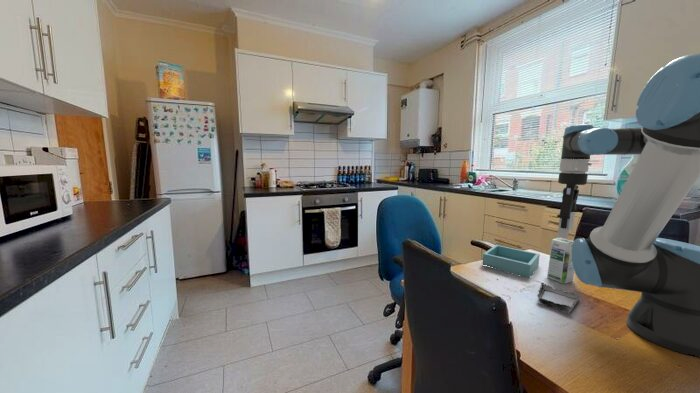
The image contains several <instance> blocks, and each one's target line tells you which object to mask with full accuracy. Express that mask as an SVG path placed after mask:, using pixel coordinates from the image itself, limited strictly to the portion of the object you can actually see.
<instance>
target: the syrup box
mask: <svg viewBox="0 0 700 393" xmlns="http://www.w3.org/2000/svg"><path fill="white" fill-rule="evenodd" d="M573 242H574V240H571V239H567V238H561V237H556V238H552V239H551V243H550V250H549V252H550V253H549V260H548V267H547V268H548V269H547V274H546V275H547V276H546V277H547V279H550V280H553V281H556V282H558V283H561V284H563V285H565V284H569V283H570V282H573V281H574V276H575V271H574V267H573V263H572V245H573Z"/></svg>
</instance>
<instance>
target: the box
mask: <svg viewBox="0 0 700 393" xmlns="http://www.w3.org/2000/svg"><path fill="white" fill-rule="evenodd" d="M540 256H541V255H540V253H537V252H536V253H535V252H532V251H528V250H527V251H526V250H523V249H518V248H512V247H509V246H508V247H507V246H505V245H499V244H495V245H494V246H493V247H491V248H490V249H488V250H487V251H485V252H483V255H482V262H481V263H482V264H483V265H487V266H490V267H493V268H496V269H499V270H498V271H500V270H502V271H501V272H504V271H506V272H505V273H507V272H509V273H508V274H511V273H513V274H512V275H515V274H516V275H515V276H519V275H520V277H522V276H524V277H523V278H526V277H527V278H526V279H530V278H531V277H532V276H533V274H534V273H535V271H536V270H537V269H538V267H539V264H540V263H539V262H540ZM493 268H492V269H493ZM496 269H495V270H496ZM533 272H534V273H533ZM530 276H531V277H530Z"/></svg>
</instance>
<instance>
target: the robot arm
mask: <svg viewBox="0 0 700 393" xmlns="http://www.w3.org/2000/svg"><path fill="white" fill-rule="evenodd" d="M636 107H637V109H636V110H635V117H636V122H637V123H638V124H639V126H641V127H624V128H623V127H622V128H621V127H617V128H608V127H594V125H592V124H575V125H574V124H573V125H568V126H566V127H565V129H564V134H563V136H562V148H561V154H560V155H561V157H560V162H559V169H558V170H559V172H560V173H559V174H558V180H557V182H558V183H559V184H562V185H566V186H565V187H564V188H563V190H562V196H561V198H562V200H561V205H560V211H559V213H558V214H557V215H556V218H558V219H559V220H558V221H559V222H558V228H557V237H556V238H563V239H567V240H569V239H568V238H569V232H570V231H573V230H574V226H575V225H574V223H575V219H576V213H578V212H579V209H577V200H578V196H579V192H580V189H579V186H585V185H587V183H588V176H589V175H588V173H586V172H589V169H590V168H589V167H590V166H592V165H593V163H592V162H590V160H591V156H595V155H597V156H599V155H601V156H602V155H605V156H606V155H607V156H608V155H609V156H610V155H613V156H615V155H616V156H617V155H622V156H623V155H624V156H625V155H626V156H627V155H634V156H635V155H639V156H638V158H637V161H636V162H635V165H634V166H633V168H632V171H631V172H630V174H629V175H628V178H627V180H626V181H625V183H624V185H623V187H622V190H621V191H620V193H619V195H618V197H617V199H616V201H615V202H614V204H613V206H612V208H611V211H610V213H609V215H608V217H607V219H606V220H605V222H604V224H603V226H597V227H595V228H593V229H592V231H590V234H589V236H588V238H584V237H581V238H576V239H574V240H573V241H574V242H573V245H572V263H573V267H574V274H575V275H576V277H577V278H578V280H579V281H580V282H582V283H583V284H585V285H589V286H594V287H598V288H601V289H602V288H607V289H612V290H613V289H615V290H620V291H621V290H622V291H628V292H636V293H640V294H641V295H640V298H638V300H637V302H636V303H635V304H634V305H633V307H632V308H631V309H630V310H629V311H628V314H627V317H626V325H627V326H628V327H629V329H630V330H631V331H633V332H634V333H635V334H637V335H638V336H640V337H642V338H644V339H645V340H648V341H650V342H652V343H654V344H656V345H659V346H660V347H664V348H666V349H669V350H671V351H674V352H678V353H681V354H684V353H685V354H684V355H688V354H691V355H690V356H692V355H695V356H694V357H697V356H700V246H699V245H695V244H692V243H689V242H688V243H687V242H684V241H678V240H674V239H667V238H662V237H659V235H660V234H661V233H662V231H663V230H664V228H665V226H666V225H667V224H668V222H669V221H671V220H670V219H671V218H672V216H673V215H674V214H675V212H676V211H677V209H678V208H679V207H680V205H681V204H682V202H683V201H684V199H685V198H686V197H687V195H688V194H689V192H690V190H691V189H692V188H693V186H694V185H695V184H696V182H697V181H698V179H699V178H700V53H694V54H688V55H683V56H680V57H678V58H675V59H673V60H672V61H670V62H669V63H667V64H665V65H664V66H662V67H660V69H658V70H657V72H655V73H654V74H653V75H652V77H650V79H649V80H648V81H647V83H646V84H645V85H644V86H643V89H642V90H641V92H640V95H639V97H638V99H637V102H636Z"/></svg>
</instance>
